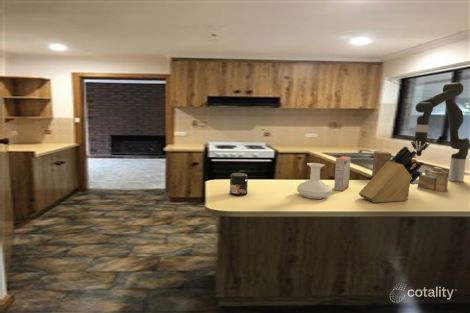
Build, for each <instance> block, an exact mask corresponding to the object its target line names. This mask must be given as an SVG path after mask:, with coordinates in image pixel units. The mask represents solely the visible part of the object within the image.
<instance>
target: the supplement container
mask: <svg viewBox="0 0 470 313" xmlns="http://www.w3.org/2000/svg"><path fill="white" fill-rule="evenodd" d="M229 194H230V195H231V196H233V195H234V196H233V197H245V196H247V195H248V174H247V173H243V172H233V173H231V174H230V179H229Z"/></svg>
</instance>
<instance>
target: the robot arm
mask: <svg viewBox="0 0 470 313" xmlns="http://www.w3.org/2000/svg"><path fill="white" fill-rule="evenodd" d="M463 91H464V84H462V83H460V82H451V83H449V82H448V83H445V84H444V85H443V87H442V92H440V93H436V94H435V95H433V96H431V97H430V98H427V99H424V100H422V101H419V102H418V103H416V105H415V109H414V110H415V111H416V112H417V113H422V115H419V116H417V118H416V126H415V131H414V139H413V141H411V142H410V144H411V146H412V148H413V149H414V150H415V151H416V155H415V156H416V157H421V156H422V154H423V151H426V149H427V148H428V147H429V146H430V143H428V141H427V140H428V132H429V121H430V118H431V115H432V114H433V111H434V108H436V107H437V106H439V105H441V104H442V103H445V105H446V116H447V121H448V127H449V129H448V130H449V145H450V147H451V148H452V149H454V150H458V152H456V153H452V154H451V157H450V165H449V172H448V173H449V178H448V181H451V182H457V183H459V182H460V183H461V182H462V183H463V182H464V178H465V172H466V171H465V170H466V161H467V156H468V155H469V149H470V139H469V138H468V137H459V129H460V128H461V126H462V125H463V123H464V113H463V112H464V111H462V109H461V107H459V105H458V104H457V103H456V102H455V100H454V98H455V97H458V96H460V95H462V93H463Z"/></svg>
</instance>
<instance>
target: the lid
mask: <svg viewBox="0 0 470 313" xmlns="http://www.w3.org/2000/svg"><path fill="white" fill-rule="evenodd" d="M443 170H444V169H443V168H441V167H435V166H434V167H432V171H434V172H444V171H443ZM421 176H425V177H430V178H434V179H435V178H437V176H434V175H429V174H425V172H422V174H421Z"/></svg>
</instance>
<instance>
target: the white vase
mask: <svg viewBox="0 0 470 313" xmlns="http://www.w3.org/2000/svg"><path fill="white" fill-rule="evenodd" d="M306 164H307V166H309V168H310V173H309V174H310V175H309V177H310V178H309V179H307V180H306V181H303V182H301V183H300V184H298V185H297V188H296V189H297V190H296V191H297V193H298V194H299V195H301V196H302V197H304V198H308V199H312V200H313V199H314V200H316V199H317V200H319V199H320V200H321V199H326V198H327V197H329V196H331V195H332V192H333V190H332V188H331V187H330V186H329V185H328V184H326V183H325V182H323V181H322V180H321V169H322V168H323V167H325V166H326V164H324V163H318V162H309V163H306Z"/></svg>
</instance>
